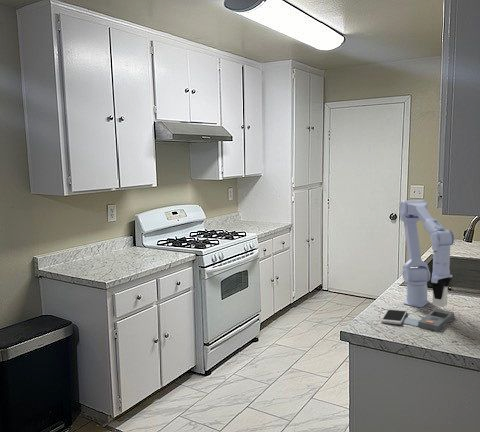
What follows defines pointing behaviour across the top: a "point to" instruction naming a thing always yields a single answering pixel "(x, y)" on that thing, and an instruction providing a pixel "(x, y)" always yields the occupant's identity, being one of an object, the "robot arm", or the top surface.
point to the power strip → (436, 319)
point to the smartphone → (394, 316)
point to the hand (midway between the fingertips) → (439, 297)
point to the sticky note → (410, 321)
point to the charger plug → (443, 300)
